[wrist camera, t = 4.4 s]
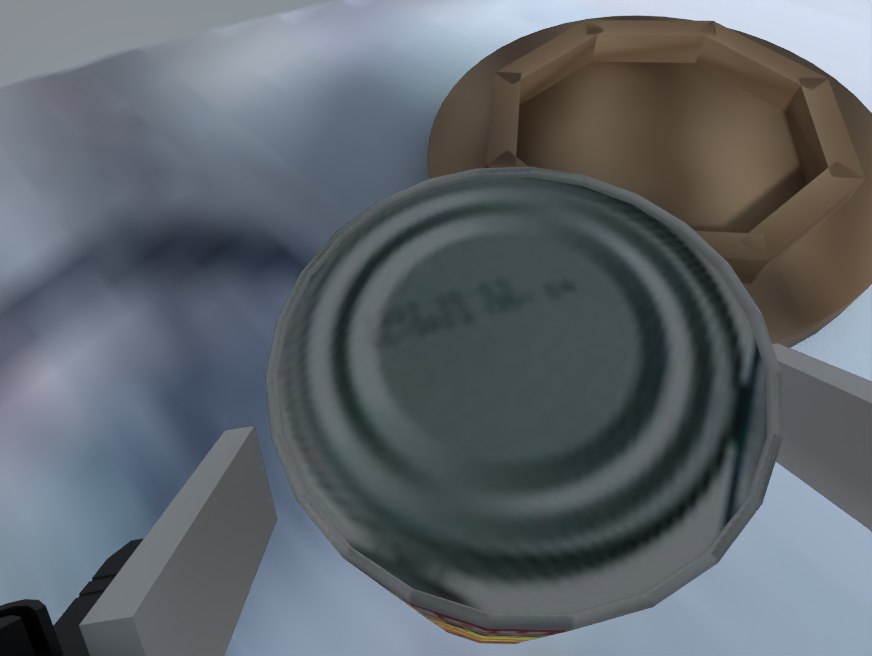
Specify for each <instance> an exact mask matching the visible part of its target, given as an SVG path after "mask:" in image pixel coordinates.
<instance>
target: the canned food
mask: <svg viewBox="0 0 872 656" xmlns="http://www.w3.org/2000/svg"><path fill="white" fill-rule="evenodd" d="M266 386H267V397H268V407H269V418H270V429H271V438H272V441H273V443H274V446H275V448H276V451H277V453H278V456H279V458H280V461H281V463H282V466H283V468H284V470H285V473H286V475H287V478H288V480H289V483H290V485H291V488H292V490H293V492H294V495H295V497H296V500H297V502H298V503H299V504H300V505H301V506H302V508H303V509H304V510H305V511H306V513H307V514H308V515H309V516H310V518H311V519H312V520H313V521H314V522H315V524H316V525H317V526H318V527H319V529H320V530H321V531H322V532H323V534H324V535H325V536H326V537H327V539H328V540H329V541H330V542H331V543H332V545H333V546H334V547H335V548H336V550H337V551H338V552H339V553H340V555H341V556H342V557H343V558H344V559H346V560H347V561H348V562H350V563H351V564H353V565H354V566H355V567H357V568H358V569H359V570H361V571H362V572H364V573H365V574H366V575H368V576H369V577H370V578H372V579H373V580H375V581H376V582H377V583H379V584H380V585H381V586H383V587H384V588H386V589H387V590H388V591H390V592H391V593H393V594H394V595H395V596H397V597H398V598H399V599H401V600H402V601H404V602H405V603H406V604H408V605H409V606H410V607H412V608H413V609H415V610H416V611H417V612H419V613H420V614H422V615H423V616H424V617H426V618H427V619H429V620H430V621H432V622H433V623H435V624H436V625H438V626H439V627H441V628H442V629H443V630H445V631H446V632H448V633H451V634H454V635H457V636H460V637H463V638H466V639H469V640H472V641H475V642H478V643H495V644H516V643H520V642H524V641H528V640H533V639H537V638H541V637H545V636H549V635H554V634H558V633H562V632H566V631H570V630H574V629H578V628H581V627H585V626H588V625H592V624H595V623H599V622H602V621H606V620H609V619H613V618H616V617H620V616H623V615H627V614H630V613H634V612H637V611H641V610H644V609H648V608H651V607H654V606H655V605H657V604H658V603H659V602H661V601H662V600H664V599H665V598H667V597H668V596H670V595H671V594H673V593H674V592H676V591H677V590H679V589H680V588H682V587H683V586H685V585H686V584H687V583H689V582H690V581H692V580H693V579H695V578H696V577H698V576H699V575H701V574H702V573H704V572H705V571H707V570H708V569H710V568H711V567H713V566H714V565H715V564H717V563H718V562H719V561H720V559H721V558H722V557H723V555H724V554H725V553H726V551H727V550H728V549H729V547H730V546H731V545H732V543H733V542H734V541H735V539H736V538H737V537H738V535H739V534H740V533H741V531H742V530H743V529H744V527H745V526H746V525H747V523H748V522H749V521H750V519H751V518H752V517H753V515H754V514H755V513H756V511H757V510H758V509H759V507H760V506H761V504H762V503H763V499H764V496H765V493H766V490H767V487H768V484H769V480H770V477H771V474H772V471H773V468H774V465H775V461H776V458H777V455H778V452H779V449H780V446H781V442H782V439H783V425H782V374H781V370H780V367H779V364H778V361H777V358H776V355H775V352H774V349H773V346H772V343H771V340H770V337H769V333H768V330H767V327H766V324H765V321H764V318H763V315H762V313H761V312H760V310H759V308H758V307H757V305H756V304H755V302H754V301H753V299H752V298H751V296H750V295H749V293H748V292H747V290H746V289H745V287H744V286H743V284H742V282H741V281H740V279H739V278H738V276H737V275H736V273H735V272H734V270H733V269H732V267H731V266H730V264H729V263H728V262H727V261H726V260H725V259H724V258H723V257H722V256H721V255H719V254H718V253H717V252H716V251H715V250H714V249H713V248H712V247H711V246H710V245H709V244H708V243H707V242H706V241H705V240H704V239H702V238H701V237H700V236H699V235H698V234H697V233H696V232H695V231H694V230H693V229H692V228H691V227H690V226H689V225H688V224H687V223H685V222H683V221H682V220H680V219H678V218H677V217H675V216H673V215H672V214H670V213H668V212H667V211H665V210H663V209H662V208H660V207H658V206H657V205H655V204H653V203H652V202H650V201H648V200H647V199H645V198H643V197H642V196H640V195H638V194H636V193H633V192H631V191H628V190H625V189H622V188H619V187H617V186H614V185H611V184H608V183H605V182H603V181H600V180H597V179H594V178H592V177H589V176H586V175H581V174H574V173H568V172H562V171H555V170H549V169H543V168H536V167H506V168H477V169H473V170H468V171H464V172H459V173H455V174H450V175H446V176H441V177H437V178H432V179H428V180H425V181H422V182H420V183H418V184H416V185H413V186H411V187H409V188H407V189H404V190H402V191H400V192H398V193H395V194H393V195H391V196H389V197H386V198H384V199H382V200H379V201H378V202H376V203H375V204H374V205H372V206H371V207H369V208H368V209H367V210H365V211H364V212H363V213H361V214H360V215H358V216H357V217H356V218H354V219H353V220H351V221H350V222H349V223H347V224H346V225H345V226H343V227H342V228H340V229H339V230H338V231H336V232H335V233H334V235H333V236H332V237H331V238H330V239H329V240H328V242H327V243H326V244H325V245H324V246H323V247H322V248H321V250H320V251H319V252H318V253H317V254H316V255H315V257H314V258H313V259H312V260H311V261H310V262H309V263H308V265H307V266H306V267H305V268H304V269H303V270H302V272H301V273H300V275H299V277H298V279H297V281H296V283H295V285H294V287H293V289H292V291H291V293H290V295H289V297H288V299H287V301H286V303H285V305H284V307H283V309H282V311H281V313H280V315H279V317H278V319H277V322H276V327H275V332H274V337H273V342H272V347H271V352H270V358H269V363H268V368H267V373H266Z"/></svg>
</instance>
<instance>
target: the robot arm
mask: <svg viewBox="0 0 872 656" xmlns="http://www.w3.org/2000/svg"><path fill="white" fill-rule="evenodd" d="M772 346H773V349H774V352H775V355H776V358H777V361H778V364H779V367H780V370H781V374H782V425H783V439H782V442H781V446H780V449H779V452H778V455H777V458H776V462H777V463H779V464H780V465H781V466H783V467H784V468H785V469H787V470H788V471H790V472H791V473H792V474H794V475H795V476H796V477H798V478H799V479H801V480H802V481H803V482H805V483H806V484H807V485H809V486H810V487H812V488H813V489H814V490H816V491H817V492H818V493H820V494H821V495H823V496H824V497H825V498H827V499H828V500H829V501H831V502H832V503H834V504H835V505H836V506H838V507H839V508H840V509H842V510H843V511H845V512H846V513H847V514H849V515H850V516H851V517H853V518H854V519H856V520H857V521H858V522H860V523H861V524H862V525H864V526H865V527H867V528H868V529H869V530H871V531H872V381H869V380H867V379H864V378H862V377H860V376H857V375H855V374H852V373H850V372H847V371H845V370H842V369H840V368H837V367H835V366H833V365H830V364H828V363H825V362H823V361H820V360H818V359H815V358H813V357H810V356H808V355H806V354H803V353H801V352H798V351H796V350H793V349H791V348H788V347H786V346H783V345H781V344H778V343H776V344H772ZM276 521H277V516H276V512H275V508H274V504H273V499H272V495H271V491H270V487H269V483H268V479H267V475H266V471H265V467H264V463H263V459H262V455H261V451H260V446H259V442H258V438H257V434H256V430H255V426H249V427H243V428H237V429H230V430H225V431H224V432H223V434H222V435H221V436H220V438H219V439H218V440H217V442H216V443H215V444H214V446H213V447H212V448H211V450H210V451H209V452H208V454H207V455H206V456H205V458H204V459H203V460H202V462H201V463H200V464H199V466H198V467H197V468H196V470H195V471H194V472H193V474H192V475H191V476H190V478H189V479H188V480H187V482H186V483H185V484H184V486H183V487H182V488H181V490H180V491H179V492H178V494H177V495H176V496H175V498H174V499H173V500H172V502H171V503H170V504H169V506H168V507H167V508H166V510H165V511H164V512H163V514H162V515H161V516H160V518H159V519H158V520H157V522H156V523H155V524H154V526H153V527H152V528H151V530H150V531H149V532H148V534H147V535H146V536H145V538H144V539H139V540H132V541H130V542H129V543H127V544H126V545H125V546H124V547H122V548H121V549H120V550H118V551H117V552H116V553H114V554H113V555H112V556H111V557H109V558H108V559H107V560H106V561H105V563H104V564H103V565H102V566H101V568H100V569H99V570H98V571H97V573H96V574H95V575H94V576H93V578H92V581H90V582H88V584H87V585H86V586H85V587H84V589H83V590H82V591H81V592H80V594H79V595H80V596H79V598H76V599H75V600H74V601H73V602H72V604H71V605H70V606H69V607H68V609H67V610H66V611H65V612H64V613H63V615H62V616H61V617H60V618H59V620H58V621H57V622H56V623H55V625H54V626H53V624H52V622H51V619H50V616H49V614H48V611H47V608H46V606H45V605H44V604H43V603H42V602H40V601H39V600H28V599H24V600H20V601H16V602H11V603H7V604H4V605H2V606H0V656H224V655H225V652H226V650H227V647H228V644H229V642H230V639H231V637H232V634H233V632H234V629H235V626H236V624H237V621H238V619H239V616H240V613H241V611H242V608H243V606H244V603H245V601H246V598H247V595H248V593H249V590H250V588H251V585H252V583H253V580H254V577H255V575H256V572H257V570H258V567H259V564H260V562H261V559H262V557H263V554H264V552H265V549H266V546H267V544H268V541H269V539H270V536H271V533H272V531H273V528H274V526H275V523H276Z"/></svg>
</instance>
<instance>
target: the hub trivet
mask: <svg viewBox="0 0 872 656" xmlns="http://www.w3.org/2000/svg"><path fill="white" fill-rule="evenodd" d="M428 167H429V177H430V179H432V178H437V177H441V176H446V175H450V174H455V173H459V172H464V171H468V170H473V169H477V168H506V167H536V168H543V169H549V170H555V171H562V172H568V173H574V174H581V175H586V176H589V177H592V178H594V179H597V180H600V181H603V182H605V183H608V184H611V185H614V186H617V187H619V188H622V189H625V190H628V191H631V192H633V193H636V194H638V195H640V196H642V197H643V198H645V199H647V200H648V201H650V202H652V203H653V204H655V205H657V206H658V207H660V208H662V209H663V210H665V211H667V212H668V213H670V214H672V215H673V216H675V217H677V218H678V219H680V220H682V221H683V222H685V223H687V224H688V225H689V226H690V227H691V228H692V229H693V230H694V231H695V232H696V233H697V234H698V235H699V236H700V237H701V238H702V239H704V240H705V241H706V242H707V243H708V244H709V245H710V246H711V247H712V248H713V249H714V250H715V251H716V252H717V253H718V254H719V255H721V256H722V257H723V258H724V259H725V260H726V261H727V262H728V263H729V264H730V266H731V267H732V269H733V270H734V272H735V273H736V275H737V276H738V278H739V279H740V281H741V282H742V284H743V286H744V287H745V289H746V290H747V292H748V293H749V295H750V296H751V298H752V299H753V301H754V302H755V304H756V305H757V307H758V308H759V310H760V312H761V313H762V315H763V318H764V321H765V324H766V327H767V330H768V333H769V337H770V340H771V343H772V344H776V343H778V344H781V345H783V346H786V347H788V348H790V347H792V346H794V345H796V344H797V343H799V342H801V341H803V340H805V339H806V338H808V337H810V336H812V335H814V334H815V333H817V332H818V331H819V330H821V329H822V328H823V327H825V326H826V325H827V324H828V323H830V322H831V321H832V320H833V319H835V318H836V317H837V316H838V315H839V314H840V313H841V312H843V311H844V310H845V309H846V308H847V307H848V306H849V305H850V304H851V303H852V302H853V301H854V300H855V299H857V298H858V297H859V296H860V295H861V294H862V293H863V292H864V291H865V290H866V289H867V288H868V287H869V286H870V285H871V284H872V113H871V112H870V111H869V110H868V109H867V108H866V107H865V106H864V105H863V104H862V103H861V101H860V100H859V99H858V98H857V97H856V96H855V95H854V94H853V93H851V92H850V91H849V90H848V89H847V88H845V87H844V86H843V85H842V84H841V83H839V82H838V81H837V80H836V79H835V78H833V77H832V76H830V75H829V74H827V73H826V72H824V71H823V70H821V69H820V68H818V67H817V66H815V65H814V64H812V63H811V62H809V61H807V60H805V59H803V58H801V57H800V56H798V55H796V54H794V53H792V52H790V51H788V50H786V49H784V48H782V47H779V46H777V45H775V44H773V43H770V42H768V41H766V40H763V39H760V38H757V37H755V36H752V35H749V34H746V33H743V32H740V31H737V30H733V29H729V28H726V27H724V26H722V25H720V24H718V23H716V22H714V21H693V20H687V19H678V18H669V17H657V16H612V17H603V18H593V19H586V20H580V21H575V22H570V23H564V24H561V25H557V26H554V27H550V28H546V29H543V30H540V31H537V32H535V33H532V34H529V35H527V36H524V37H521V38H519V39H517V40H515V41H513V42H511V43H509V44H507V45H505V46H503V47H501V48H500V49H498V50H496V51H495V52H493V53H492V54H490V55H489V56H487V57H485V58H484V59H482V60H481V61H480V62H479V63H478V64H476V65H475V66H474V67H473V68H472V69H470V70H469V71H468V72H467V73H466V74H465V75H464V76H463V77H462V78H461V79H460V80H459V81H458V83H457V84H456V85H455V86H454V87H453V88H452V90H451V91H450V93H449V94H448V96H447V97H446V99H445V100H444V102H443V103H442V105H441V107H440V110H439V112H438V114H437V116H436V118H435V120H434V124H433V128H432V131H431V135H430V139H429V150H428Z"/></svg>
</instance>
